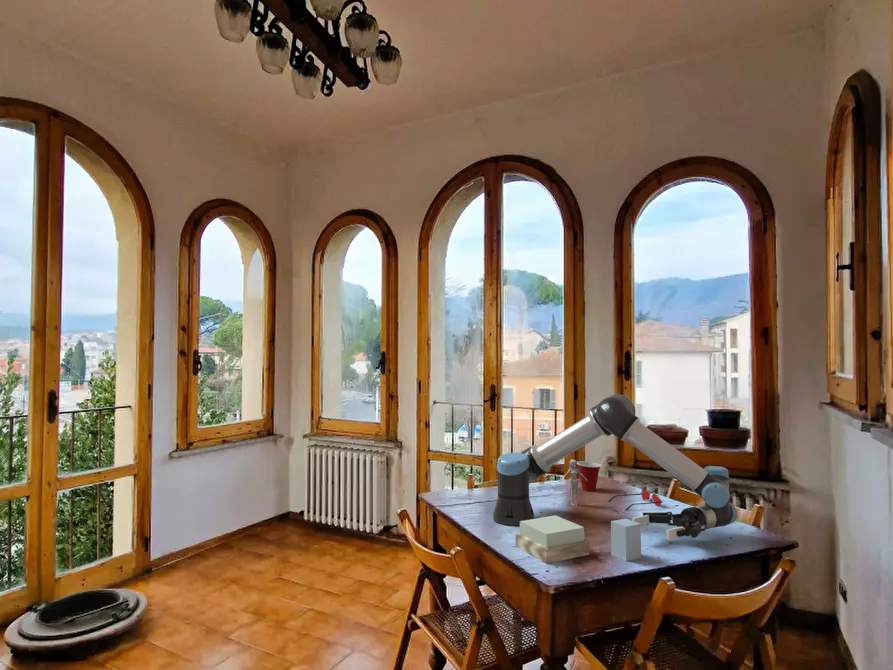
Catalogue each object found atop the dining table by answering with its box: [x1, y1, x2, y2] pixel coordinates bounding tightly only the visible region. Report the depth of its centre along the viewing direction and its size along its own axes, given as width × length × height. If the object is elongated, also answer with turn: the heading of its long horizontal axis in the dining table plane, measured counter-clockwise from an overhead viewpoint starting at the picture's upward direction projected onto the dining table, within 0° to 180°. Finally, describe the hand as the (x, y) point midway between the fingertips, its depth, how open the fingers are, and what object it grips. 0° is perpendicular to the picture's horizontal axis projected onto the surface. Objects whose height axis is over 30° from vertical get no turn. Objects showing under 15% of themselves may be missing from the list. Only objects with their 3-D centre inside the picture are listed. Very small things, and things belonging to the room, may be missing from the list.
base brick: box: [515, 532, 590, 564], centre depth 168 cm, size 16×16×4 cm
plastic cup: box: [576, 460, 602, 492], centre depth 243 cm, size 11×11×12 cm
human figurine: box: [559, 459, 588, 507], centre depth 220 cm, size 12×4×18 cm, turn 97°
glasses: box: [607, 489, 663, 511], centre depth 219 cm, size 14×16×5 cm
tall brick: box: [610, 518, 642, 562], centre depth 163 cm, size 6×6×10 cm
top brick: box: [519, 515, 585, 548], centre depth 168 cm, size 14×14×4 cm
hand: (649, 528), depth 167 cm, fingers open, 13 cm apart
